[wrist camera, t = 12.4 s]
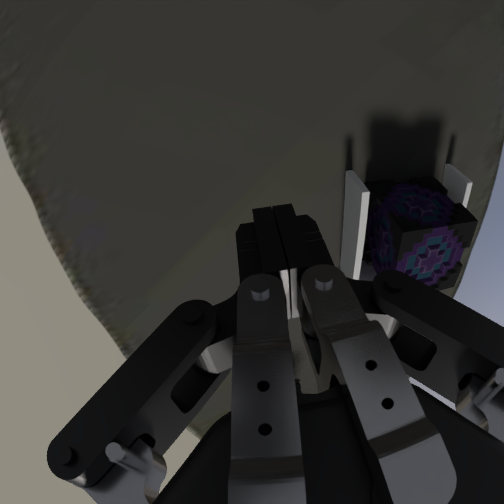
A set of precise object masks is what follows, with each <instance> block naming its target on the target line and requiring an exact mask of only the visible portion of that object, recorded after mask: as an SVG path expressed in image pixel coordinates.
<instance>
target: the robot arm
mask: <svg viewBox="0 0 504 504" xmlns="http://www.w3.org/2000/svg"><path fill="white" fill-rule="evenodd" d="M252 211H253V219H254V222H251V223H245V224H240V226H239V228H238V230H237V232H236V243H237V254H238V265H239V276H240V285H239V287H238V290H237V291H236V293H235V294H234V295H233V296H232V297H230V298H229V299H227V300H226V301H224V302H221V303H219V304H216V305H214V306H212V305H211V304H210V303H208V302H207V301H204V300H190V301H187V302H184V303H182V304H181V305H179V306H178V307H177V308H176V309H175V310H174V311H173V312H172V313H171V314H170V315H169V316H168V317H167V318H166V319H165V320H164V321H163V322H162V323H161V324H160V325H159V327H158V328H157V329H156V330H155V331H154V332H153V333H152V334H151V335H150V336H149V337H148V338H147V339H146V340H145V341H144V342H143V343H142V344H141V345H140V347H139V348H138V349H137V350H136V351H135V352H134V353H133V354H132V355H131V356H130V357H129V358H128V359H127V360H126V361H125V362H124V364H123V365H122V366H121V367H120V368H119V369H118V370H117V371H116V372H115V373H114V374H113V375H112V376H111V377H110V379H108V381H107V382H106V383H105V384H104V385H103V386H102V387H101V388H100V389H99V390H98V391H97V392H96V393H95V394H94V395H93V397H92V398H91V399H90V400H89V401H88V402H87V403H86V404H85V405H84V406H83V407H82V408H81V410H80V411H79V412H78V413H77V414H76V415H75V416H74V417H73V418H72V419H71V420H70V421H69V423H68V424H67V425H66V426H65V427H64V428H63V429H62V430H61V431H60V432H59V433H58V435H57V436H56V437H55V438H54V439H53V440H52V441H51V443H50V445H49V447H48V451H47V462H48V465H49V468H50V469H51V471H52V472H53V473H54V474H55V475H56V476H57V477H59V478H61V479H63V480H66V481H68V482H70V483H73V484H74V485H76V486H78V487H81V488H83V489H84V490H85V491H86V492H87V493H88V494H89V495H90V496H91V497H92V498H93V499H94V500H95V501H96V503H97V504H504V327H502V326H500V325H499V324H497V323H495V322H493V321H492V320H490V319H488V318H487V317H485V316H483V315H481V314H479V313H478V312H476V311H474V310H472V309H471V308H469V307H467V306H465V305H463V304H461V303H459V302H458V301H456V300H454V299H452V298H451V297H449V296H447V295H445V294H443V293H441V292H439V291H438V290H436V289H434V288H432V287H430V286H428V285H426V284H424V283H422V282H421V281H419V280H417V279H415V278H413V277H411V276H409V275H407V274H405V273H403V272H401V271H398V270H384V271H381V272H379V273H378V274H377V275H376V276H375V277H374V279H373V281H365V280H355V279H351V278H348V277H346V276H345V274H344V273H343V272H342V271H341V270H340V269H339V268H337V267H335V266H334V263H333V261H332V259H331V256H330V254H329V251H328V249H327V247H326V244H325V242H324V240H323V237H322V235H321V233H320V231H319V228H318V226H317V224H316V221H314V220H313V219H312V218H311V217H309V216H308V215H300V216H296V214H295V211H294V209H293V206H292V204H284V205H277V206H272V208H271V207H264V208H257V209H252ZM290 310H291V315H292V318H295V317H300V321H301V325H302V331H301V332H302V338H303V341H304V344H305V347H306V350H307V353H308V356H309V359H310V362H311V365H312V369H313V372H314V375H315V378H316V382H317V388H318V394H303V393H296V386H295V377H294V367H293V358H292V349H291V341H290V338H289V330H288V319H290ZM404 324H405V325H406V326H405V325H404ZM407 326H408V327H407ZM409 327H410V328H412V329H413V330H412V329H410V328H409ZM414 330H415V331H414ZM416 331H417V332H418V333H417V332H416ZM419 333H420V334H419ZM421 334H422V335H424V336H425V337H424V336H422V335H421ZM426 337H427V338H426ZM428 338H429V339H430V340H429V339H428ZM431 340H432V341H431ZM231 368H232V406H231V411H230V412H229V413H227V414H226V415H224V416H222V417H221V418H220V419H219V420H218V421H216V422H215V423H214V424H213V425H212V426H211V427H210V428H209V430H208V431H207V432H206V434H205V435H204V436H203V438H202V439H201V440H200V442H199V443H198V445H197V446H196V447H195V449H194V450H193V451H192V453H191V454H190V455H189V457H188V458H187V459H186V460H185V462H184V463H183V464H182V466H181V467H180V468H179V470H178V471H177V472H176V474H175V475H174V476H173V477H172V479H171V480H170V481H169V482H168V484H167V485H166V486H165V488H164V489H163V490H162V491H161V493H160V494H159V488H160V486H161V484H162V482H163V480H164V479H165V476H166V472H167V466H166V462H165V460H164V458H163V454H164V453H165V452H166V451H167V450H168V449H169V447H170V446H171V445H172V444H173V442H174V441H175V440H176V439H177V438H178V437H179V435H180V434H181V433H182V432H183V431H184V429H185V428H186V427H187V426H188V424H189V423H190V422H191V421H192V419H193V418H194V417H195V416H196V415H197V413H198V412H199V411H200V410H201V408H202V407H203V406H204V405H205V403H206V402H207V401H208V400H209V398H210V397H211V396H212V394H213V393H214V392H215V391H216V389H217V388H218V387H219V386H220V384H221V383H222V382H223V380H224V379H225V378H226V377H227V375H228V374H229V372H230V371H231ZM406 374H407V375H409V376H410V377H412V378H414V379H415V380H417V381H419V382H420V383H422V384H423V385H425V386H427V387H428V388H430V389H432V390H433V391H435V392H437V393H438V394H440V395H441V396H443V397H445V398H446V399H448V400H450V401H451V402H453V403H455V407H456V411H455V410H453V409H452V408H450V407H449V406H447V405H445V404H444V403H443V402H441V401H439V400H438V399H437V398H435V397H433V396H432V395H430V394H429V393H427V392H426V391H424V390H423V389H421V388H420V387H418V386H416V385H413V384H411V383H410V381H409V379H408V377H407V375H406Z"/></svg>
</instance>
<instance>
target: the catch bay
mask: <svg viewBox="0 0 504 504" xmlns="http://www.w3.org/2000/svg"><path fill="white" fill-rule="evenodd" d="M442 185H443V186H444V187H445V188H446V189H447V190H448V193H447V196H448V197H449V198H450V199H451V200H452V201H453V202H454V203H455V204H456V203H461V204H462V205H463V206H464V207H465V208H466V207H467V203H468V199H469V195H470V191H471V187H472V182H471V181H470V180H469V179H468V178H467V177H466V176H464V175H463V174H462V173H461V172H460V171H458V170H457V169H456V168H455V167H454V166H452V165H451V164H445V169H444V175H443V180H442ZM369 194H370V191H369V190H368V189H367V187H366V186H365V185H364V184H363V182H362V181H361V180H360V179H359V177H358V176H357V175H356V174H355V172H354V171H353V170H348V171H346V178H345V202H344V220H343V235H342V248H341V260H340V270H341V271H342V272H343V273H344V274H345V276H346V277H348V278H351V279H355V280H365V281H373V279H374V277H375V276H376V275H377V274H376V272H375V270H374V268H373V266H372V265H371V266H368V265H367V263H366V261H362V255H363V248H364V240H365V232H366V224H367V214H368V205H369Z"/></svg>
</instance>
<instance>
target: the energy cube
mask: <svg viewBox="0 0 504 504" xmlns="http://www.w3.org/2000/svg"><path fill="white" fill-rule="evenodd" d="M365 186H366V187H367V189H368V190H369V191H370V194H369V205H368V214H367V224H366V232H365V240H364V248H363V255H362V256H363V258H364V260H365V261H366V263H367V265H368V266H371V265H372V266H373V268H374V270H375V272H376V274H378V273H379V272H381V271H384V270H398V271H401V272H403V273H405V274H407V275H409V276H411V277H413V278H415V279H417V280H419V281H421V282H422V283H424V284H426V285H428V286H430V287H432V288H434V289H436V290H438V291H439V290H443V289H447V288H451V287H454V286H455V283H456V281H457V278H458V276H459V273H460V271H461V268H462V266H463V265H462V264H461V263H460V258H461V256H462V253H463V250H464V248H467V247H470V244H471V241H472V238H473V235H474V232H475V229H476V226H477V223H478V220H477V219H476V218H475V217H474V216H473V215H472V214H471V213H470V212H469V211H468V210H467V209H466V208H465V207H464V206H463V205H462V204H461V203H456V204H455V203H454V202H453V201H452V200H451V199H450V198H449V197H448V196H447V193H448V190H447V189H446V188H445V187H444V186H443V185H442V184H441V183H440V182H439V181H438V180H437V179H435V178H434V177H420V178H411V179H410V181H409V183H399V184H395V183H394V182H393V181H392V180H385V181H375V182H365Z"/></svg>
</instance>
